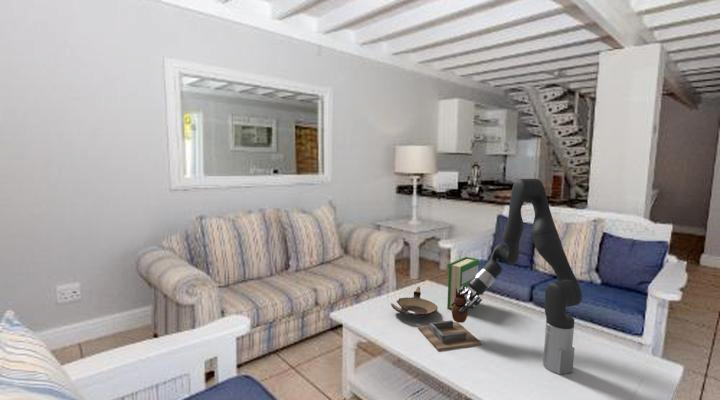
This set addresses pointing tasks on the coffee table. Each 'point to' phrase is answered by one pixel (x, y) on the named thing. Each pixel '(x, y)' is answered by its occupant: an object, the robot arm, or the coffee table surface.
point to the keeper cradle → (448, 335)
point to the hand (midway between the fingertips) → (456, 309)
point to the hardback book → (460, 276)
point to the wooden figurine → (459, 307)
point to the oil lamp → (415, 305)
